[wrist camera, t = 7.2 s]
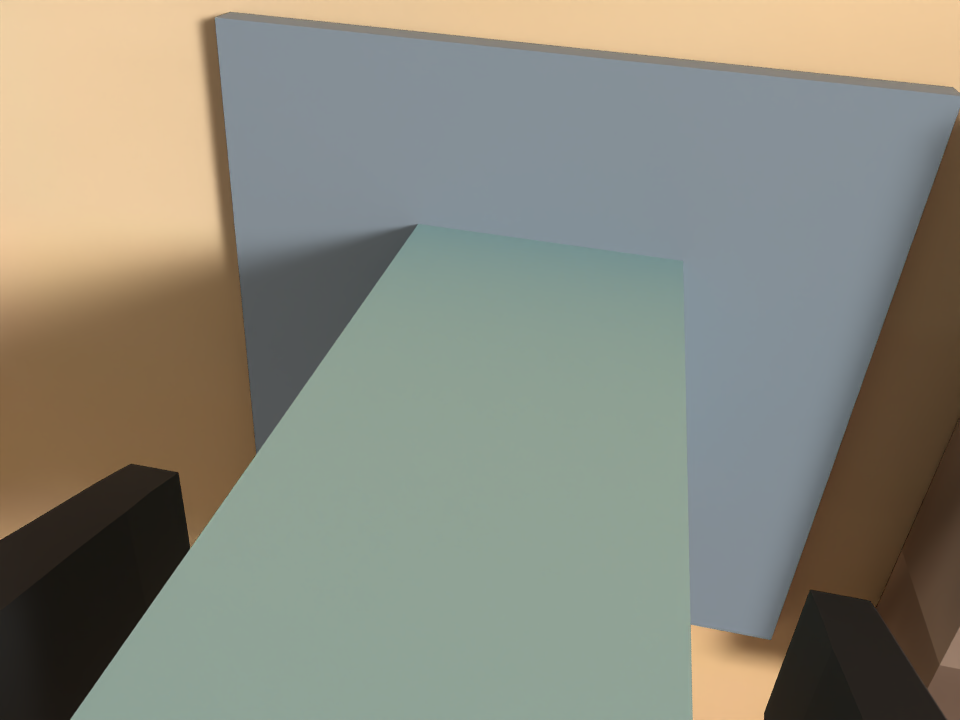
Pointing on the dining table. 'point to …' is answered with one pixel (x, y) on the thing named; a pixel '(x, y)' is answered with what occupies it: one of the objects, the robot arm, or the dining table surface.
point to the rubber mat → (598, 231)
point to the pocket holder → (931, 587)
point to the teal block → (451, 511)
